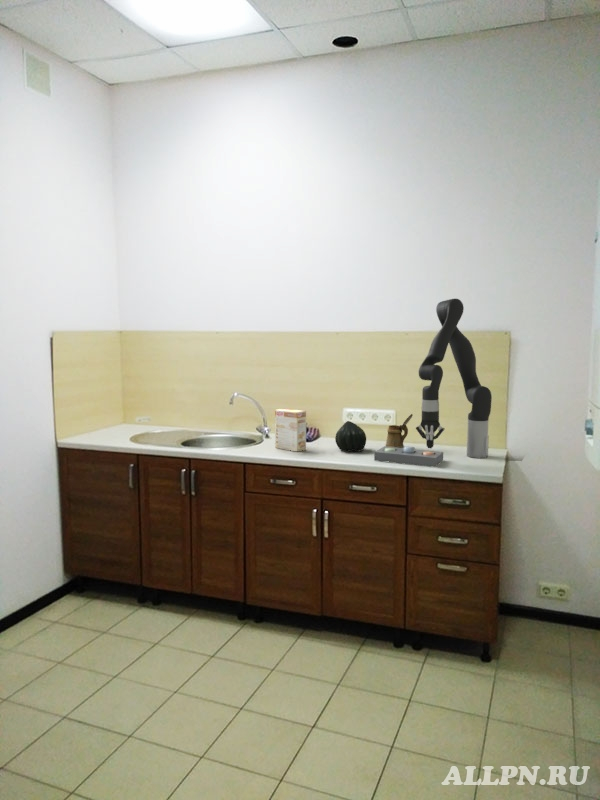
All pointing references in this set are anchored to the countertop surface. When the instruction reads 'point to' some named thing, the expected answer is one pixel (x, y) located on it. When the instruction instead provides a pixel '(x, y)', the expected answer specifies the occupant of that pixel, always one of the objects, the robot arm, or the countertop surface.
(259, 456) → the countertop surface
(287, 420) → the coffeecake box
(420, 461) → the button panel
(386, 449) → the sage button
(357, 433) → the squash
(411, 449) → the slate button
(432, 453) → the terracotta button
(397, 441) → the wooden mug
